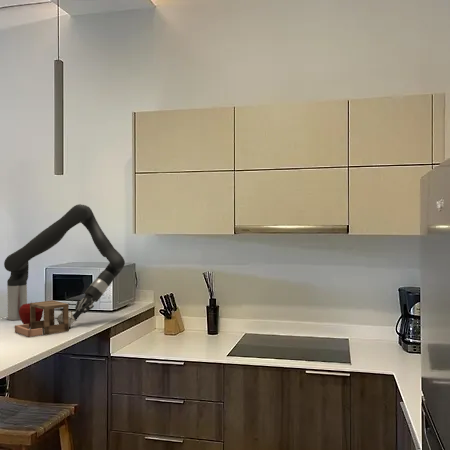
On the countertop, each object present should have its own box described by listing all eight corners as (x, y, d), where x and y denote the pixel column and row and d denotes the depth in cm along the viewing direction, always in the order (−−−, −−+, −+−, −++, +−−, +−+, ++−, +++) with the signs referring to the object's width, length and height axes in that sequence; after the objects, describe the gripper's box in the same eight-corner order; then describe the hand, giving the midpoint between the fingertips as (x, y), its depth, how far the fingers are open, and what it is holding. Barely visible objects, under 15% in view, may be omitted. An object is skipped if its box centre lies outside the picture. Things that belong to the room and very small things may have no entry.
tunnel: (30, 329, 232) (29, 303, 232) (53, 326, 240) (52, 300, 240) (45, 335, 221) (45, 306, 221) (68, 331, 228) (68, 304, 228)
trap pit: (14, 332, 227) (14, 325, 227) (28, 330, 231) (28, 323, 231) (28, 337, 216) (28, 330, 216) (42, 335, 221) (42, 328, 221)
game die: (62, 335, 236) (54, 317, 240) (79, 327, 239) (71, 309, 243) (59, 329, 229) (51, 310, 232) (77, 321, 232) (69, 302, 235)
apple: (43, 323, 248) (43, 299, 248) (44, 327, 238) (43, 302, 238) (18, 325, 244) (18, 300, 244) (18, 329, 234) (18, 303, 234)
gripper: (84, 283, 250) (61, 312, 242) (98, 286, 241) (75, 315, 232) (94, 293, 254) (72, 321, 245) (108, 295, 244) (85, 325, 236)
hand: (73, 318), depth 239 cm, fingers closed
